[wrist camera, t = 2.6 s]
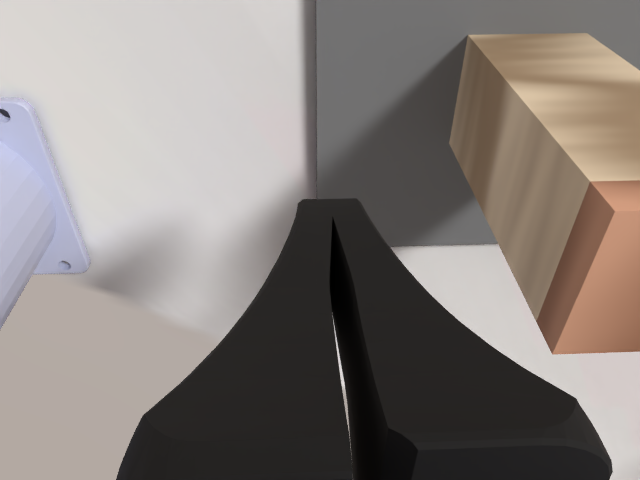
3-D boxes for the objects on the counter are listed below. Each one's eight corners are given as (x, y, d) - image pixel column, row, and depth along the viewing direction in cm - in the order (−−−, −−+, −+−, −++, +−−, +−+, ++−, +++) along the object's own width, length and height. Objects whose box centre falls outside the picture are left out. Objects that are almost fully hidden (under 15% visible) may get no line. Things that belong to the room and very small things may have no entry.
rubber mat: (317, 241, 23) (317, 248, 23) (314, -157, 14) (315, -156, 14) (798, 228, 24) (806, 235, 23) (1080, -158, 15) (1101, -158, 14)
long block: (448, 143, 20) (552, 354, 12) (467, 34, 17) (614, 211, 9) (553, 141, 20) (723, 348, 12) (587, 33, 17) (830, 205, 9)
